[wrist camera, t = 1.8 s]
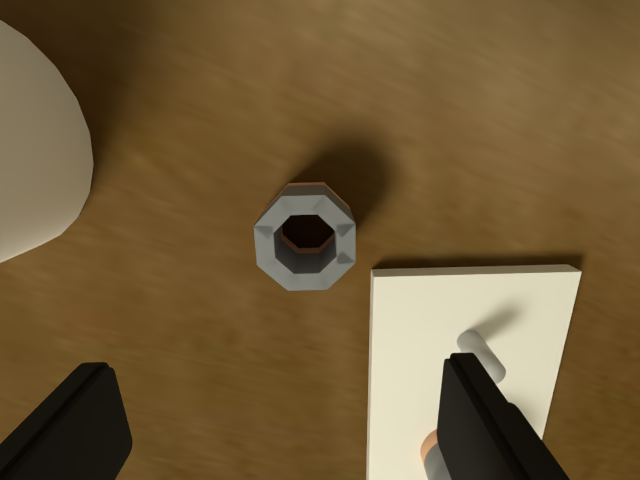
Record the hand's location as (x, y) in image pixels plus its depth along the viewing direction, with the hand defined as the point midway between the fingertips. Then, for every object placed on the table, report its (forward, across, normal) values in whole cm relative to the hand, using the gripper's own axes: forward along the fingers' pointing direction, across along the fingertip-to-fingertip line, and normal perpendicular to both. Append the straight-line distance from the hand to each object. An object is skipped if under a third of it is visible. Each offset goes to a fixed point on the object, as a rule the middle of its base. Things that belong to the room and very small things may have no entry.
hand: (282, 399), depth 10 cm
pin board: (+18, -13, +16) cm, 27 cm away
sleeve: (+18, 0, 0) cm, 18 cm away
